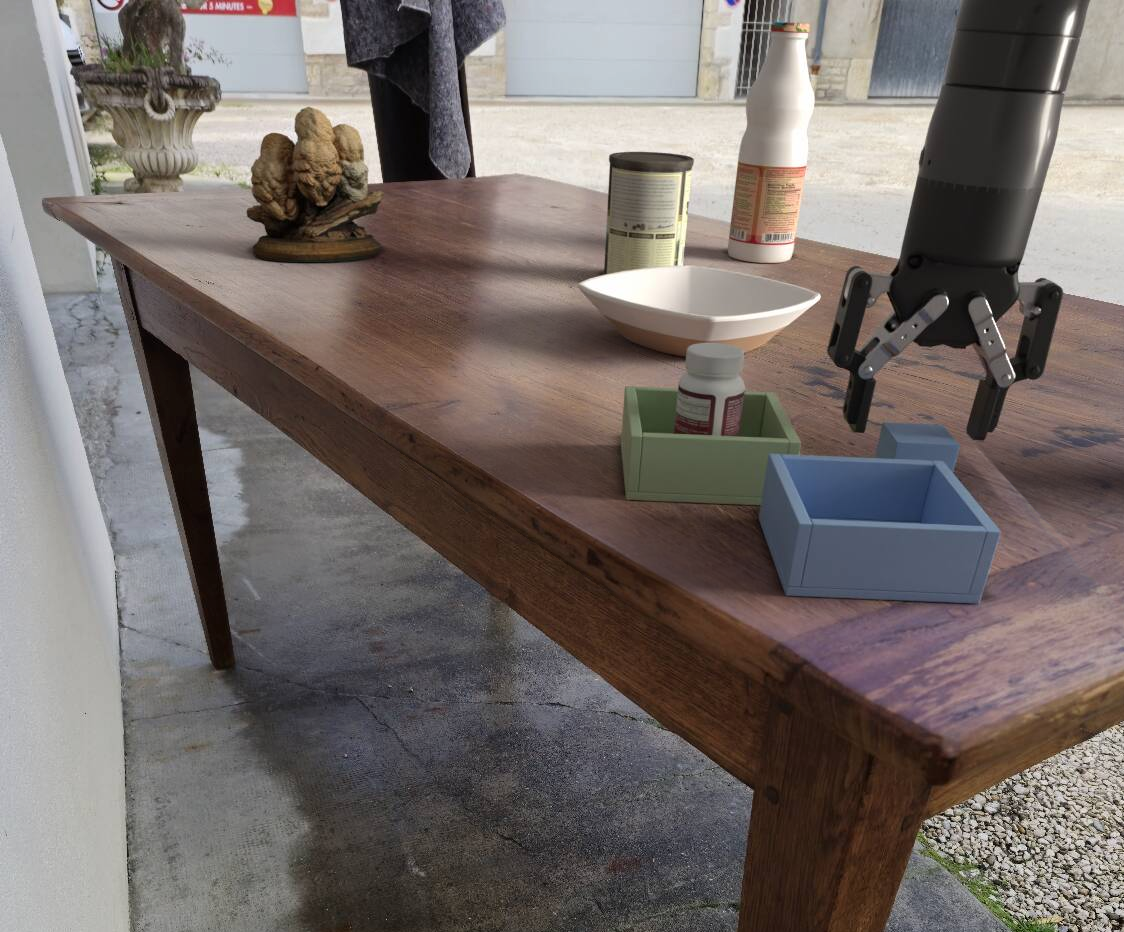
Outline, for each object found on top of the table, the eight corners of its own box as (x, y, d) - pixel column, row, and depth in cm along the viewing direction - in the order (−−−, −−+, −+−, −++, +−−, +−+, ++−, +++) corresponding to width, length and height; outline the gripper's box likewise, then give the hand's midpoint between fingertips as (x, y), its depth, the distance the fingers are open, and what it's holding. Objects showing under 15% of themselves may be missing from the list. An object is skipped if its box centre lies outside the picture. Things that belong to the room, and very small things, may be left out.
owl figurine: (376, 244, 148) (368, 103, 138) (397, 260, 139) (390, 111, 129) (246, 248, 142) (228, 101, 132) (260, 265, 133) (241, 109, 123)
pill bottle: (721, 453, 80) (736, 339, 75) (743, 476, 76) (760, 357, 71) (662, 456, 79) (673, 340, 74) (681, 478, 75) (694, 359, 70)
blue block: (927, 482, 78) (942, 424, 76) (944, 505, 75) (960, 444, 72) (869, 480, 78) (882, 421, 76) (883, 502, 75) (897, 442, 72)
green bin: (766, 450, 83) (775, 392, 80) (790, 507, 73) (801, 442, 71) (620, 444, 83) (624, 385, 80) (626, 500, 73) (630, 435, 70)
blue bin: (926, 526, 71) (943, 460, 69) (979, 604, 62) (1001, 531, 59) (758, 519, 71) (768, 453, 69) (785, 596, 62) (798, 523, 59)
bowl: (838, 348, 110) (847, 295, 107) (708, 383, 97) (715, 324, 94) (681, 308, 122) (686, 260, 119) (549, 335, 110) (550, 282, 107)
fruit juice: (716, 258, 149) (743, 20, 133) (741, 249, 156) (770, 21, 140) (777, 267, 146) (813, 23, 129) (801, 257, 152) (837, 24, 136)
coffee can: (591, 273, 137) (597, 150, 129) (663, 272, 140) (674, 151, 131) (618, 290, 129) (627, 160, 121) (694, 288, 132) (708, 161, 124)
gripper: (881, 174, 61) (826, 445, 71) (1120, 190, 62) (1033, 457, 71) (854, 160, 67) (806, 411, 77) (1070, 174, 68) (997, 422, 77)
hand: (915, 433), depth 74 cm, fingers open, 8 cm apart
